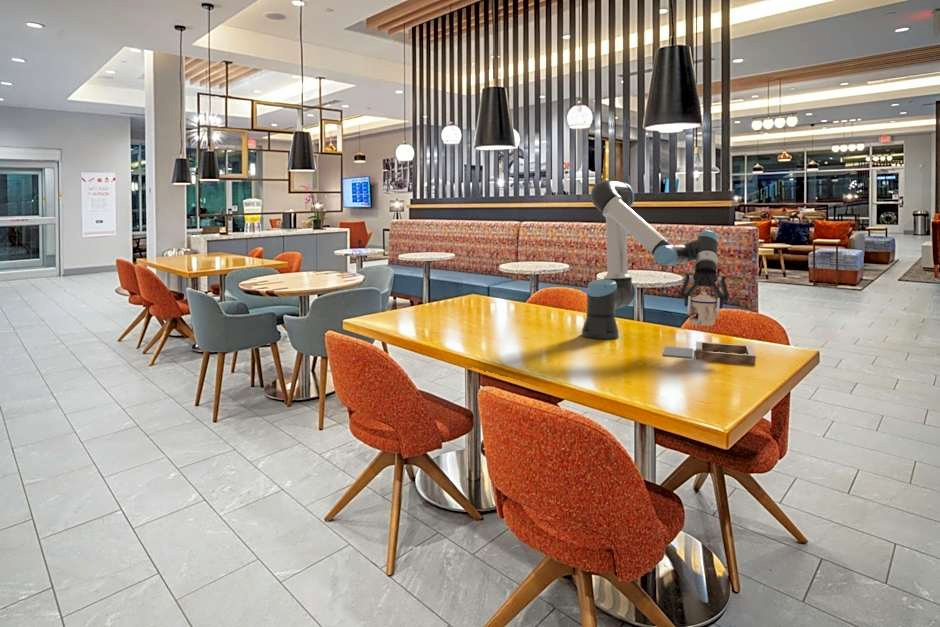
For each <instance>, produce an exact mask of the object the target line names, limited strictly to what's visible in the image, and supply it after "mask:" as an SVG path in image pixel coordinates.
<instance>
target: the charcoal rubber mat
mask: <svg viewBox="0 0 940 627" xmlns="http://www.w3.org/2000/svg"><path fill="white" fill-rule="evenodd" d="M693 352H694V348H689V347H676V346H665V347H664V349H663V352H662V357H669V358H671V357H673V358H682V359H683V358H685V359H693V357H694V356H693V355H694V353H693Z"/></svg>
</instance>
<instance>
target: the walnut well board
mask: <svg viewBox="0 0 940 627" xmlns="http://www.w3.org/2000/svg"><path fill="white" fill-rule="evenodd" d="M713 351H720V352H713ZM726 352H734V353H726ZM738 353H746V354H738ZM694 357H695V359H694V360H697V361H709V362H722V363H732V364H743V365H753V366H754V365H756V361H757V360H756V357H757V356H756V352H755V350H754V348H753V345H747V344H734V343H719V342H707V341H705V342H704V341H696V343H695V356H694Z"/></svg>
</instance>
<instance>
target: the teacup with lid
mask: <svg viewBox="0 0 940 627" xmlns="http://www.w3.org/2000/svg"><path fill="white" fill-rule="evenodd" d="M716 311H717V299H716V298H714V297H712V296H711V295H709V294H708V292H707V291H701V294H697V295H696V296H693V297H692V296H691V299H690V311H689V321H688V323H690V324H691V325H696V326H703V327H710V326H711V327H712V326H714V325H715V322H716Z"/></svg>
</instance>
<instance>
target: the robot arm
mask: <svg viewBox="0 0 940 627" xmlns="http://www.w3.org/2000/svg"><path fill="white" fill-rule="evenodd" d="M590 200H591V202H592V203H591V204H592V205H594V207H595V208H596V209H597V210H598V211H599V212H600V213H601V215H602V216H603V217H604V218H605V230H606V233H605V234H606V235H605V236H606V237H605V238H606V266H607V267H606V269H607V270H606V271H607V273H606V274H605V276H604V277H603V279H595V280H592V281H590V282H589V283H588V285H587V289H586V290H587V291H586V297H587V298H586V318H585V321H584V324H583V326H582V329H581V336H582V337H584V338H589V339H594V340H612V339H617V338H619V333H620V332H619V328H618V325H617V322H616V309H623V308H626V307H628V306H630V305H631V304H633V302H635V300H636V298H637V288H636V285H634V283H633V281H632V275H630V273H629V271H628V270H629V269H628V261H629V260H628V234H629V235H630V236H631V237H632V238H634V239H635V240H636V241H637V242H638V243H639V244H641V246H643V247H644V248H645V249H646V250H647V251H648V253H651V255H652V256H653V259H654V261H655V263H657V265H660V266H665V267H669V266H671V267H678V266H682V265H684V264H688V263H691V262H693V261H695V266H694V274H693V275H690V274H688V273H686V274H685V281H684V282H683V285H682V288H681V289H680V292H679V298H680V299H684V307H687V309H686V310H687V311H686V315H687V316H690V306H691V301H690V300H691V298H692V296H693V294H694V293H695V292H696V290H697V289H699V288H700V287H706V288H710V290H711V291H712V292H713V294H714V295H715V297H716V298H717V299H716V300H717V303H716V314H715V318H719V315H720V310H721V309H723V308H724V302H728V301H729V297H730V295H729V292H728V288H727V284H726V276H725V275H722V276H721V277H720V276H718V273H717V272H718V271H717V270H718V249H719V237H718V234H717V233H716V232H715V231H713V230H703V231H700V233H699V234H697V238H696V239H695V240H691V241H689V242H685V243H682V244H672V242H670V241H669V240H668V239H666V238H665V237H664V236H663V235H662V234H661V233H659V231H657V230H656V229H655V228H654V227H653V226H652V225H650V224H649V223H648V222H647V221H646V220H645V219H643V218H642V217H641V216H640V215H639V214H638V213H636V212H635V211H634V209H632V208H631V207H632V204H634V202H635V201H634V200H635V192H634V189H633V187H632V186H630V184H628V183H626V182H623V181H618V180H617V181H616V180H606V179H605V180H600V181H599V182H597V183H595V185H593V187H592V189H591V191H590ZM692 280H693V281H694V283H693V284H692V285H691V286H690V287H689V284H690V283H691V281H692ZM717 281H718V283H719V284H720V288H721V290H720V288H718V286H717V285H716V282H717ZM688 287H689V289H688ZM687 290H688V291H687Z"/></svg>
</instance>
